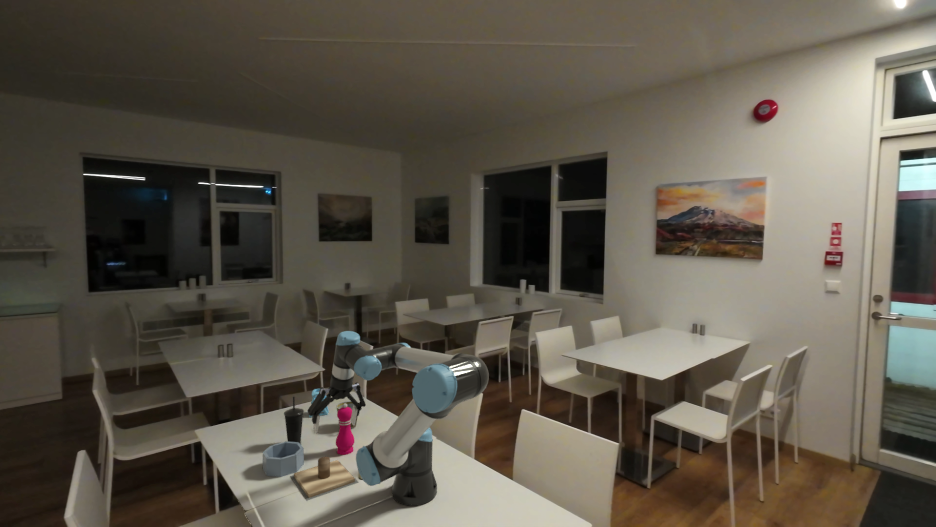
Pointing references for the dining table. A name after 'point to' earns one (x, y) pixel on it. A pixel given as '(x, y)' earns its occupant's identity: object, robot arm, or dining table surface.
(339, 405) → the ceramic cup
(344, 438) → the pepper mill
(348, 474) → the lid
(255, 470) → the dining table surface
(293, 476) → the mat
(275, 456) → the bowl
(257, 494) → the dining table surface
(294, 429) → the drinking cup
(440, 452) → the dining table surface
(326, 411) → the chair
